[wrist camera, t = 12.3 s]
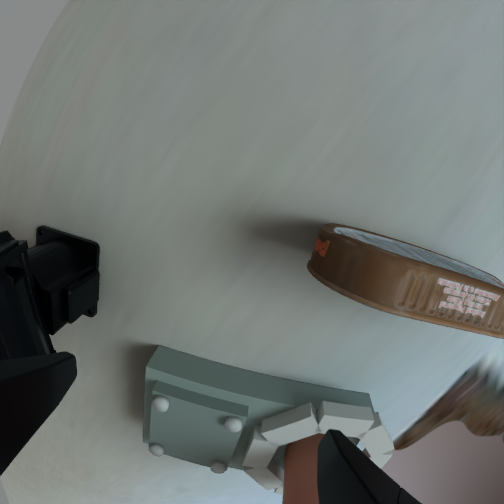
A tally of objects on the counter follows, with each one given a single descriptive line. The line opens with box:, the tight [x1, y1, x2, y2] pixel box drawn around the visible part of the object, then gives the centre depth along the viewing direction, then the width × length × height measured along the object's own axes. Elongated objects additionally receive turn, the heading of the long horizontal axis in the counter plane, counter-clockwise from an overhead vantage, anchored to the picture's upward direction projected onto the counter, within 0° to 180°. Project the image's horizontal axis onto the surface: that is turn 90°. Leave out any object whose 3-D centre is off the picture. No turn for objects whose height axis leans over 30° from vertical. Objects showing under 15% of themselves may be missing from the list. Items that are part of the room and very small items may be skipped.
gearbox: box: [143, 345, 394, 494], centre depth 23 cm, size 21×12×5 cm, turn 76°
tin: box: [307, 224, 504, 339], centre depth 16 cm, size 15×3×8 cm, turn 76°
